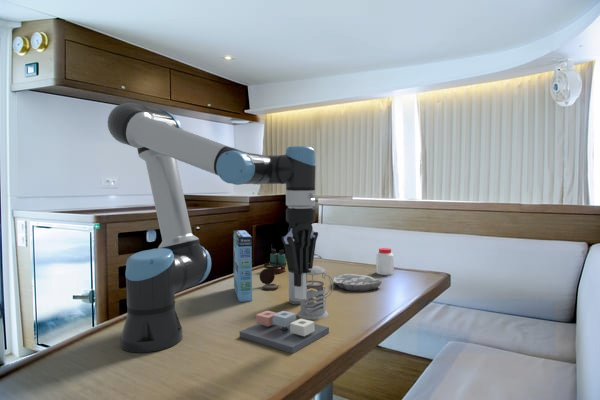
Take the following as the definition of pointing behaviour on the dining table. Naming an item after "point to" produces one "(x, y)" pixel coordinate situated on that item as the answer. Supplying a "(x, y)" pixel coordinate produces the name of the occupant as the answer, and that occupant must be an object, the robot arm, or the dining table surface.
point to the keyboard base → (282, 336)
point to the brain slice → (356, 282)
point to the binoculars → (276, 261)
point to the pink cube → (265, 318)
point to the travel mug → (293, 290)
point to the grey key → (284, 319)
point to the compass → (268, 279)
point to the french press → (311, 308)
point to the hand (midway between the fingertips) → (300, 297)
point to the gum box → (243, 265)
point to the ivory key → (302, 327)
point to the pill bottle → (385, 262)
